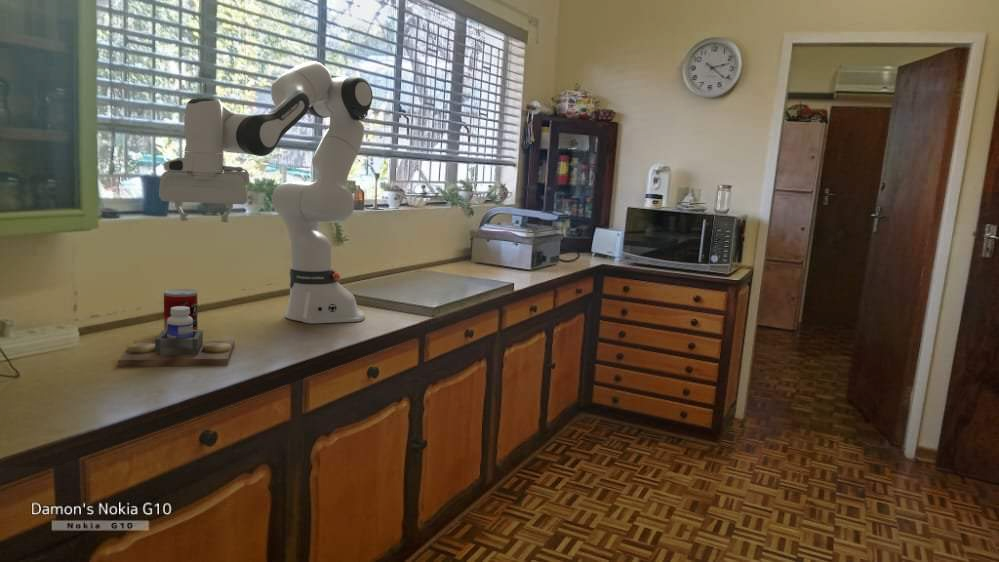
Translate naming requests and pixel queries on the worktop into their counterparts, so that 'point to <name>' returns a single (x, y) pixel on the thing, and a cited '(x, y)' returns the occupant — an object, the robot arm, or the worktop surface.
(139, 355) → the board
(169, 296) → the canned food
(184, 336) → the pill bottle
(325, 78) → the robot arm
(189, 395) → the worktop surface
